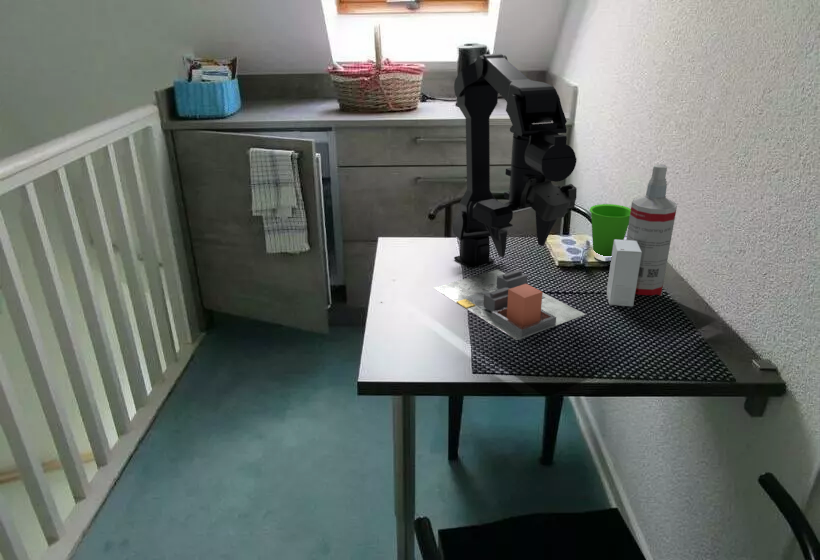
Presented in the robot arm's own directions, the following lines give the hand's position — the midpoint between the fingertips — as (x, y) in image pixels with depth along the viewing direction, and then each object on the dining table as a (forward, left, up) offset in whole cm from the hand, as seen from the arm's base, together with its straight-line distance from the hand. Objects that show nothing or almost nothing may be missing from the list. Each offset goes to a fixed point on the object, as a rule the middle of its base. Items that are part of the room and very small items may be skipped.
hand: (521, 250), depth 106 cm
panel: (-1, -2, -11) cm, 12 cm away
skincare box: (+10, +16, -12) cm, 22 cm away
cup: (-7, +32, -12) cm, 35 cm away
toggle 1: (+1, -5, -9) cm, 11 cm away
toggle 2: (-4, +2, -9) cm, 11 cm away
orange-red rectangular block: (+7, -5, -10) cm, 13 cm away
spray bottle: (+9, +23, -12) cm, 28 cm away
